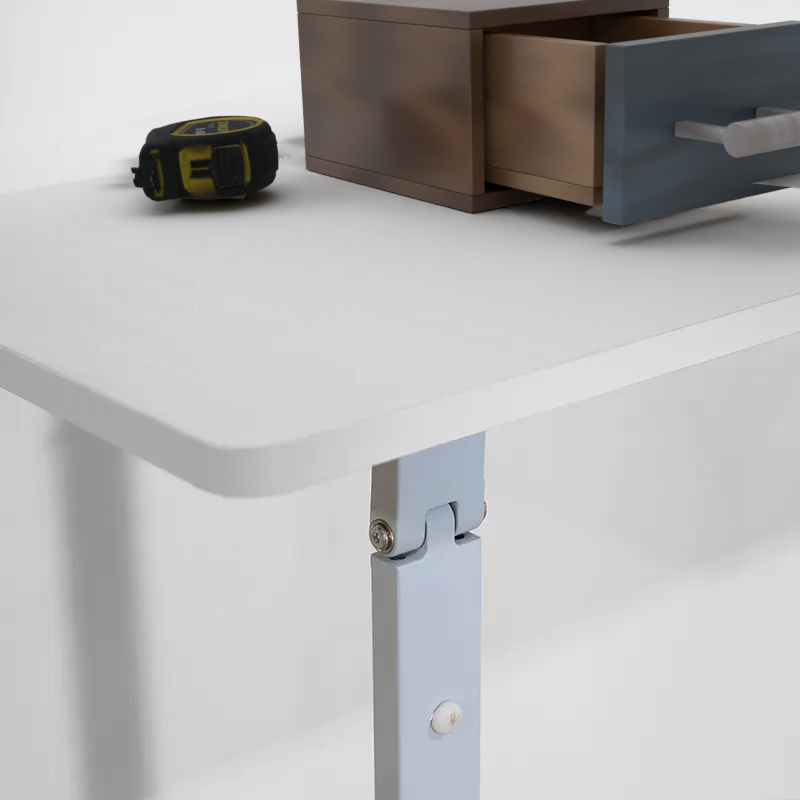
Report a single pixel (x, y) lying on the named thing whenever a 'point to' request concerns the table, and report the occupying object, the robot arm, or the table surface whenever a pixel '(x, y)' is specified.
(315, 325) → the table surface
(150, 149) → the tape measure
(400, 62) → the cabinet
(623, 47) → the drawer
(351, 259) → the table surface
